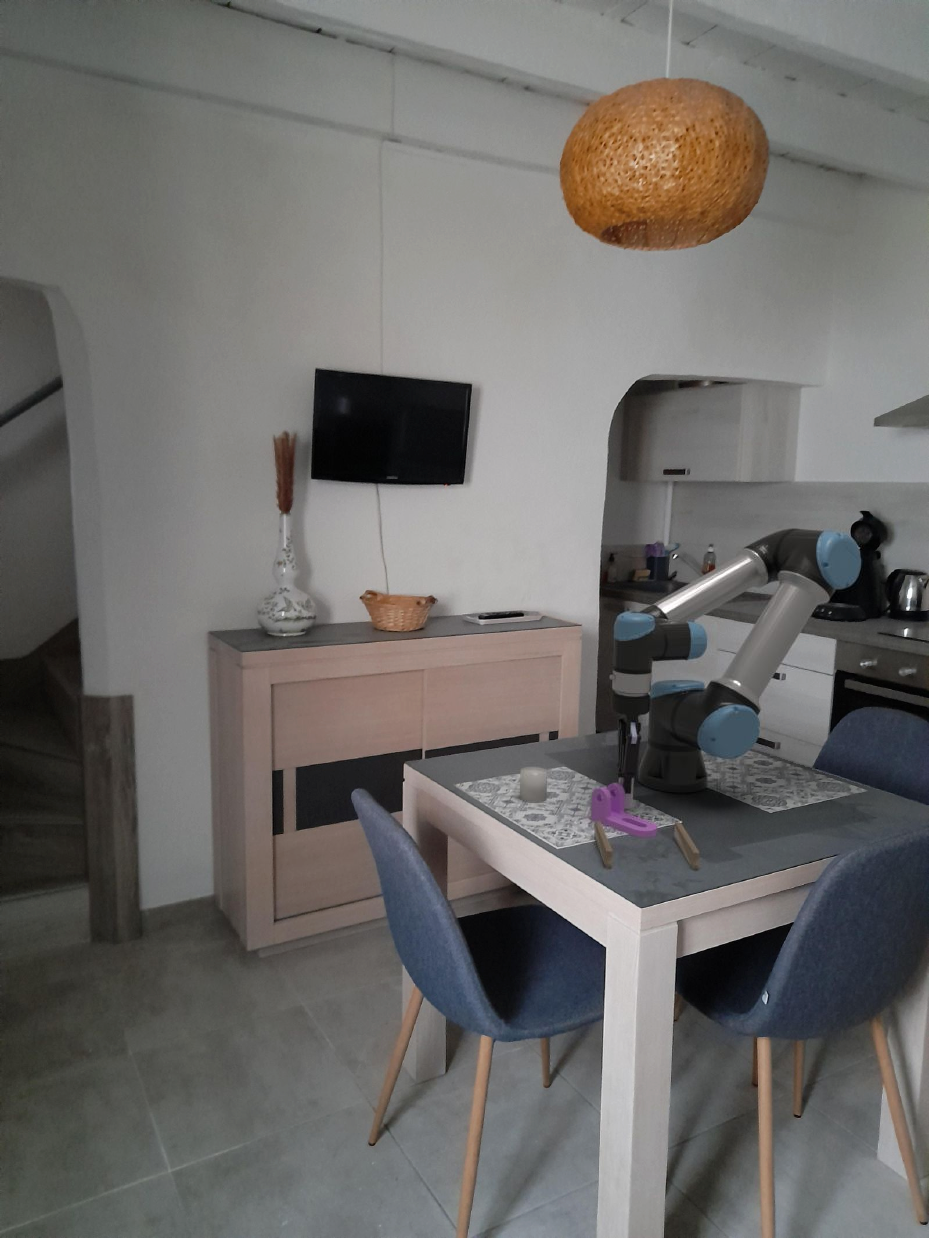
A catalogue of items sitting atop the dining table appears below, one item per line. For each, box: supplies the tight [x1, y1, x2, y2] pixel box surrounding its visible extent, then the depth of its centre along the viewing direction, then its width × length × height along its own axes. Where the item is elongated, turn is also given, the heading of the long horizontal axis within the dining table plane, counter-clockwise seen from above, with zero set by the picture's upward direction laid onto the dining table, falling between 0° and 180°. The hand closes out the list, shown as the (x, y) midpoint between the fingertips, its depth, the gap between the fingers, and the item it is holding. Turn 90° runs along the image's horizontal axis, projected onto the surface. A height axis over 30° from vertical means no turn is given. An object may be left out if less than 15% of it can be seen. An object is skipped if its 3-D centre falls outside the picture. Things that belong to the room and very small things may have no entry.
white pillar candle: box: [519, 766, 548, 804], centre depth 185 cm, size 6×6×6 cm
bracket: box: [590, 782, 658, 839], centre depth 171 cm, size 13×6×7 cm, turn 42°
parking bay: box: [593, 821, 701, 870], centre depth 159 cm, size 16×14×3 cm
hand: (624, 806), depth 177 cm, fingers closed
